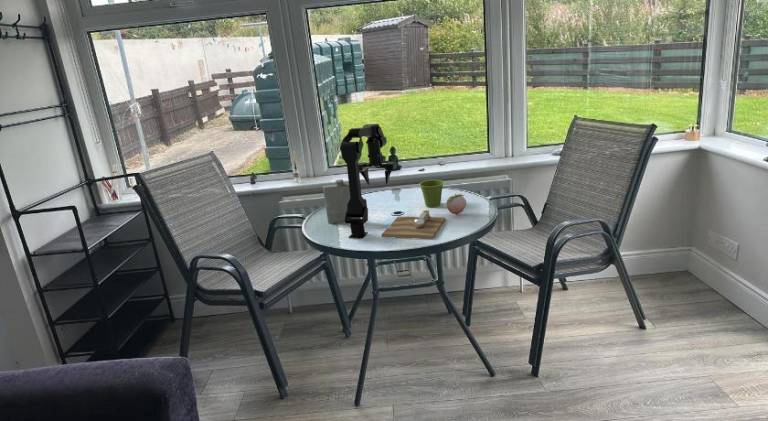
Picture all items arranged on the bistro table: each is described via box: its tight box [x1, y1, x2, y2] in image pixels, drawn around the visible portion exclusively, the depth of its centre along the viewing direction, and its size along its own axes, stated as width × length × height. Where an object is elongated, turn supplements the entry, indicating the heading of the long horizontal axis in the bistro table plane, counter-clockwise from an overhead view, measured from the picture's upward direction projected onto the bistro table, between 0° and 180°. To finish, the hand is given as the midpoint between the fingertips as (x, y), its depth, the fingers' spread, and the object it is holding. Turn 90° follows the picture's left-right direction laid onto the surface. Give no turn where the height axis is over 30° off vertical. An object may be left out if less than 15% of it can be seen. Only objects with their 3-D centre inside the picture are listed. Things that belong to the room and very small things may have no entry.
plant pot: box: [418, 179, 445, 208], centre depth 244 cm, size 12×12×11 cm
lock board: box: [381, 216, 447, 240], centre depth 217 cm, size 22×22×2 cm
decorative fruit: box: [445, 193, 467, 216], centre depth 227 cm, size 9×8×10 cm
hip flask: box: [322, 178, 362, 225], centre depth 233 cm, size 16×4×20 cm, turn 80°
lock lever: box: [414, 209, 431, 228], centre depth 218 cm, size 14×4×3 cm, turn 160°
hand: (377, 184), depth 237 cm, fingers open, 9 cm apart
